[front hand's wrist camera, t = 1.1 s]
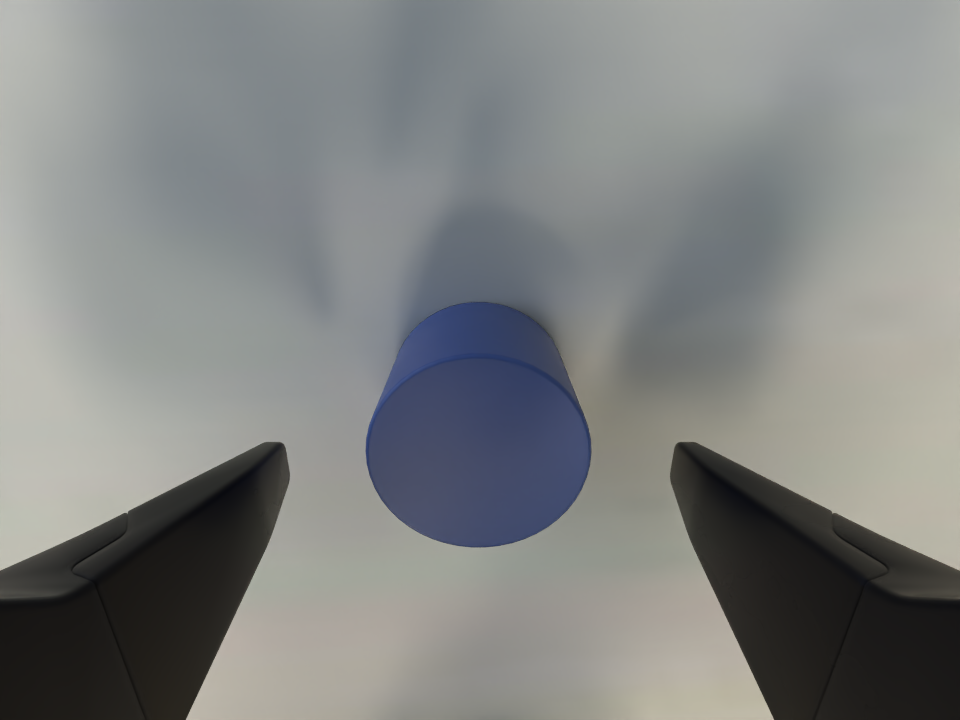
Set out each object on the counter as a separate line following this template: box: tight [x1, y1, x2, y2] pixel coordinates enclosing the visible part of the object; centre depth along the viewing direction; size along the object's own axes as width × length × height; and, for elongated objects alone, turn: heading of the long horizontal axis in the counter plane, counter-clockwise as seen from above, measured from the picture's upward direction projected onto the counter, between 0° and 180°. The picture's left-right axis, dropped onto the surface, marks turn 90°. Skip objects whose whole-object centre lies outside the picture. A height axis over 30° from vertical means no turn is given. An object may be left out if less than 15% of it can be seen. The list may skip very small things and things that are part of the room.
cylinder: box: [366, 302, 591, 547], centre depth 13 cm, size 5×5×4 cm
